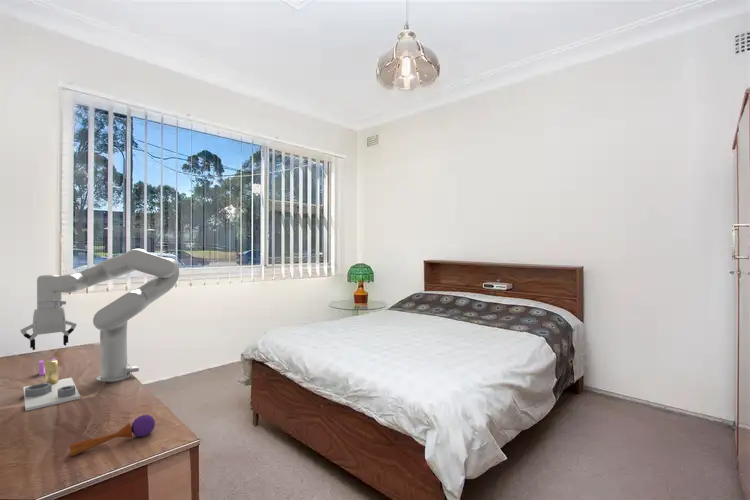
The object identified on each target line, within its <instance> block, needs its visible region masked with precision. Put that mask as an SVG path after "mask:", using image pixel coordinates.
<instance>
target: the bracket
mask: <svg viewBox="0 0 750 500" xmlns="http://www.w3.org/2000/svg"><path fill="white" fill-rule="evenodd" d="M51 360H57V358H56V357H55V358H51ZM38 369H39V370H38V372H39V373H38V374H39V376H43V375H44V376H45V361H44V360H39V361H38Z"/></svg>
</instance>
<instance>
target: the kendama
mask: <svg viewBox="0 0 750 500" xmlns="http://www.w3.org/2000/svg"><path fill="white" fill-rule="evenodd" d="M155 425H156V420H155V418H154V417H153V416H151V415H150V414H142V415H139V416H138V417H136V418H135V419H134V421H132V423H130V422H128V423H127V424H126V425H125V426H123V427H121V428H120V429H119V430H118V431H116V433H111V434H107V435H103V436H99V437H95V438H90V439H85V440H83V441H77V442H74V443H70V444H69V451H70V457H71V458H73V457H74V456H77V455H79V454H81V453H83V452H86V451H89V450H91V449H93V448H95V447H97V446H100V445H102V444H104V443H106V442H108V441H110V440H113V439H115V438H132V437H133V435H134V436H136V437H138V438H139V437H140V438H142V437H143V438H144V437H146V436H149V434H151V433H152V432H153V431H154V429H155Z"/></svg>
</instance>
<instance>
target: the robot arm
mask: <svg viewBox="0 0 750 500" xmlns="http://www.w3.org/2000/svg"><path fill="white" fill-rule="evenodd" d="M134 271H137V272H140V273H145V274H148V275H151V276H154V277H152V278H151V279H149V280H148V281H147V282H146V283H144V284H142V285H141V286H139V287H137V288H135V289H133V290H130V291H129V292H126V293H124V294H123V295H122V296H120V297H118V298H116V299H115V300H113V301H112V302H111V303H108V304H106V306H104V307H103V308H101V309H99V310H97V311H96V313H95V314H94V315H93V318H92V323H93V326H94V327H95V328H96V329H97V330H99V358H100V359H99V360H100V361H99V362H100V363H99V364H100V375H98V376H97V377H96V381H98V382H104V383H106V384H107V383H116V382H120V381H123V380H126V379H128V378H130V377H131V376H132V375H133V373H137V372H139V371H140V367H139V366H138V365H137V366H135V365H134V366H131V365H130V363H128V335H127V334H128V321H129V320H131V319H132V318H134V317H135V316H137V315H138V314H139V313H142V312H143V311H144V310H145V309H147V307H149V305H151V304H152V303H153V302H155V301H156V300H158V299H160V298H161V297H162V296H164V295H165V294H167V293H168V292H169V291H170V290H172V288H174V286H175V285H176V283H177V282H178V280H179V278H180V277H179V276H180V267H179V263H178V262H177V260H175V259H174V258H172V257H162V256H159V255H156V254H153V253H150V252H148V251H147V250H146V249H143V248H135V249H134V248H133V249H130V250H128V251H127V252H124V253H122V254H119V255H117V256H113V257H110V258H106V259H105V260H103V261H101V262H100V263H99V264H97V265H95V266H92V267H89V268H86V269H84V270H82V271H78V272H75V273H70V274H64V275H58V274H44V275H39V276H38V277H37V279H36V309H34V311H33V315H32V323H31V324H29V325H28V326H26V327H24V328H20V333H21V334H22V336H24V338H27V339H28V340H29V348H30V349H32V351H36V339H35V338H36V337H37V336H38V335H46V334H56V333H62V334H63V336H62V337H63V339H62V340H63V346H67V343H69V335H70V334H71V333H72V332H73V331H75V328H76V327H77V325H78V324H77V323H76V322H72V321H69V320H66V314H65V309H64V307H62V306H64V305H67V301H66V300H65V301H64V300H62V293H65V294H66V293H67V294H68V293H69V294H71V293H75V292H79V291H82V290H84V289H88V288H90V287H93V286H95V285H98V284H100V283H103V282H106V281H110V280H114V279H116V278H119V277H121V276H124V275H126V274H130V273H131V272H134ZM67 325H68V326H71V327H70V328H69V329H68V330H66V327H67ZM31 329H32V334H29V333H28V331H29V330H31ZM130 373H131V374H132V375H131V374H130Z"/></svg>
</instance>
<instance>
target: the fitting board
mask: <svg viewBox="0 0 750 500" xmlns="http://www.w3.org/2000/svg"><path fill="white" fill-rule="evenodd" d="M23 398H24V409H25V410H24V412H28V411H33V410H37V409H41V408H44V407H45V408H46V407H51V406H54V405H57V404H58V405H59V404H62V403H66V402H71V401H75V400H79V399H81V395H80V393H79V390H78V388H77V387H76V384H75V382H74V380H73V377H67V378H62V379H58V383H56V384H53V385H51V383H45V382H42V383H37V384H33V385H32V384H31V385H27V386H23Z"/></svg>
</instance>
